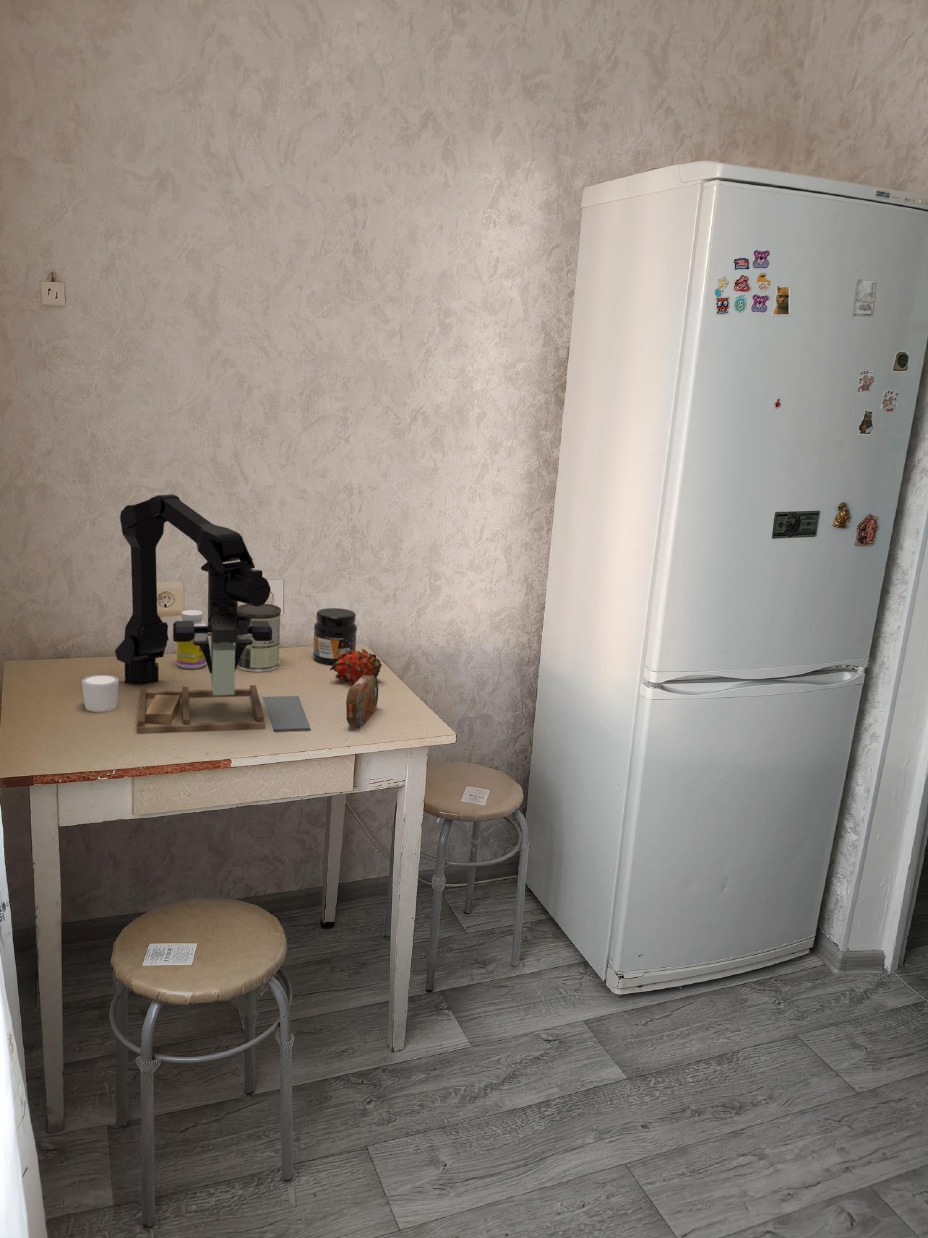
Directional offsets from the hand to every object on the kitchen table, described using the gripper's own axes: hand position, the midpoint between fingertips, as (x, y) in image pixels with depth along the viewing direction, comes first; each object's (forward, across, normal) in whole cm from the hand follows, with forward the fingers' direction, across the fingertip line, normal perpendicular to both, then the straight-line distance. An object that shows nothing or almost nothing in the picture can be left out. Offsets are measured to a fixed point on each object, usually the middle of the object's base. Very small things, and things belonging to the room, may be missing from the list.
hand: (222, 672), depth 188 cm
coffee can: (+10, +10, +34) cm, 37 cm away
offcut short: (+8, -11, 0) cm, 14 cm away
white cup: (+10, -23, +5) cm, 26 cm away
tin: (+10, +28, -3) cm, 30 cm away
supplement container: (+10, +29, +38) cm, 49 cm away
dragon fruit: (+10, +31, +20) cm, 38 cm away
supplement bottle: (+10, -5, +35) cm, 37 cm away
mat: (+10, +12, +1) cm, 16 cm away
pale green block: (+3, 0, 0) cm, 3 cm away
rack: (+10, -4, 0) cm, 10 cm away
